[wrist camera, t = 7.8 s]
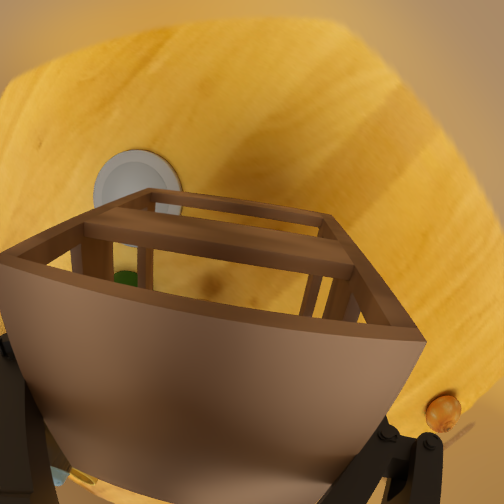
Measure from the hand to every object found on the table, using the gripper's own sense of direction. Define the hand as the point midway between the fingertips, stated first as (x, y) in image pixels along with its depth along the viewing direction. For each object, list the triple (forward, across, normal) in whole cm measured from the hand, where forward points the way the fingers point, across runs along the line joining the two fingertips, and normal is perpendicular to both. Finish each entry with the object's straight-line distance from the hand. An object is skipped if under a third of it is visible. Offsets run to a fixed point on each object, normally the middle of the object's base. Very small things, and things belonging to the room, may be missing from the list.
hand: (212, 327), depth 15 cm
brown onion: (+24, +45, -31) cm, 60 cm away
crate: (+5, 0, 0) cm, 5 cm away
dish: (+23, -15, +1) cm, 28 cm away
